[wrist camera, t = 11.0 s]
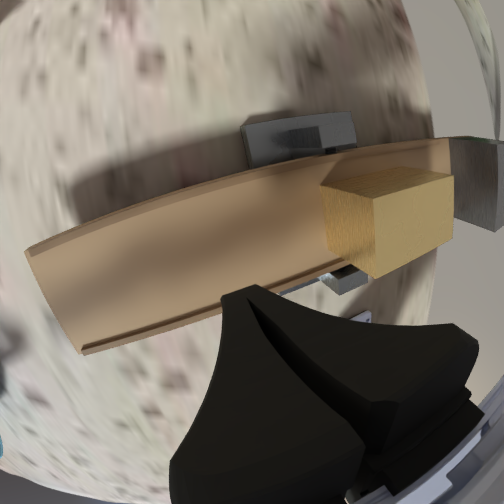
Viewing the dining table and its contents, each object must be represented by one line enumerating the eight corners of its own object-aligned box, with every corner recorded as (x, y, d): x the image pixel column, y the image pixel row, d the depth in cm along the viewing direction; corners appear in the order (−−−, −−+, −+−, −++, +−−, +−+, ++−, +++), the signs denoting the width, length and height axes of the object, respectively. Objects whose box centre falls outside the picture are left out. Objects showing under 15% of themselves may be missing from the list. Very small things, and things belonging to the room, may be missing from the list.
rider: (404, 220, 18) (452, 238, 14) (327, 249, 17) (375, 279, 13) (401, 166, 16) (453, 175, 12) (319, 185, 15) (372, 199, 11)
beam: (469, 205, 22) (513, 220, 17) (83, 350, 15) (68, 418, 9) (467, 132, 19) (514, 139, 14) (27, 242, 12) (-25, 287, 6)
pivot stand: (359, 256, 23) (395, 277, 19) (275, 290, 21) (302, 322, 17) (342, 112, 18) (384, 107, 14) (240, 127, 16) (265, 118, 12)
